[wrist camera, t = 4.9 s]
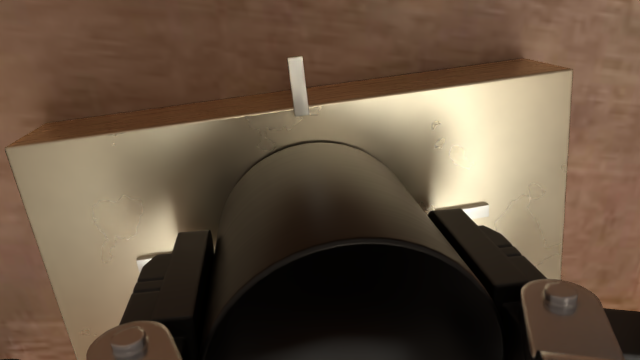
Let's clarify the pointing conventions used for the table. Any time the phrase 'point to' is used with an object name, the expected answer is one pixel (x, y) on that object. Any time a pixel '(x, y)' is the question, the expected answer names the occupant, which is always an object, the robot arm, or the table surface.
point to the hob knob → (339, 269)
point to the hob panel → (278, 134)
